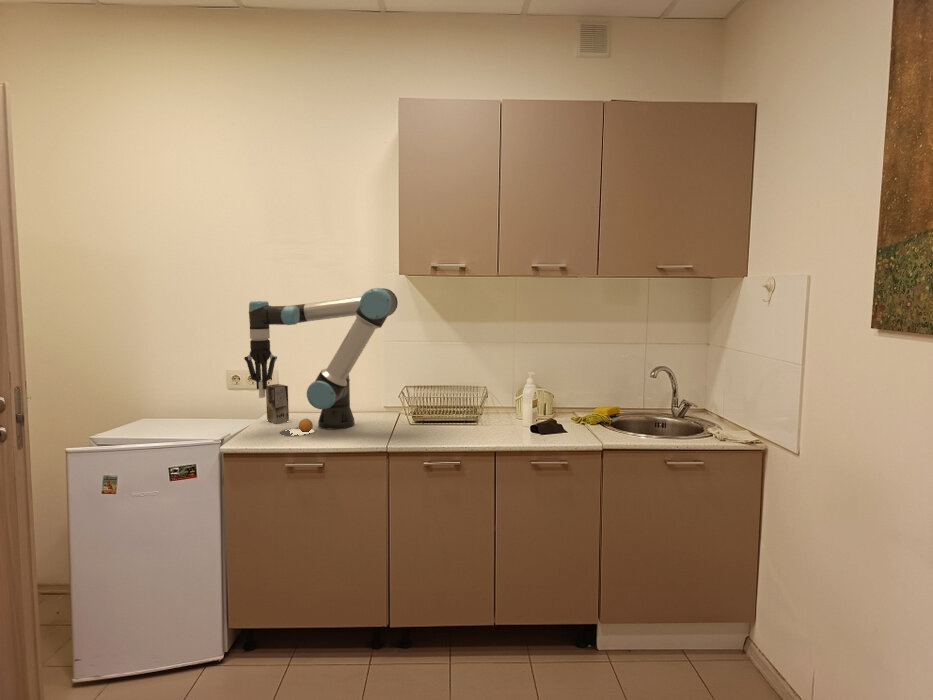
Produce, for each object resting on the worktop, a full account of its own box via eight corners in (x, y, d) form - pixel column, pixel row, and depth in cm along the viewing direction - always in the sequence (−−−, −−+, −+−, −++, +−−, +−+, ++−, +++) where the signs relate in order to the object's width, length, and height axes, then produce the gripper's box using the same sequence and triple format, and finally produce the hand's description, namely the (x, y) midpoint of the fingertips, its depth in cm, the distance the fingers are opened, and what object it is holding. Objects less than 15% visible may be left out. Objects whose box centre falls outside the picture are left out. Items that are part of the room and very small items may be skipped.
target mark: (319, 428, 245) (319, 427, 245) (309, 436, 231) (309, 435, 231) (286, 427, 245) (286, 427, 245) (274, 436, 231) (274, 435, 231)
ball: (307, 433, 241) (317, 424, 240) (303, 436, 235) (313, 427, 235) (298, 423, 240) (307, 414, 240) (293, 426, 235) (303, 417, 234)
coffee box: (289, 422, 256) (288, 385, 255) (275, 424, 252) (274, 387, 250) (280, 418, 263) (278, 383, 261) (266, 421, 259) (265, 385, 257)
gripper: (279, 338, 238) (281, 395, 241) (247, 338, 239) (250, 395, 241) (272, 340, 231) (274, 398, 233) (240, 340, 231) (242, 398, 234)
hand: (262, 397), depth 237 cm, fingers closed
